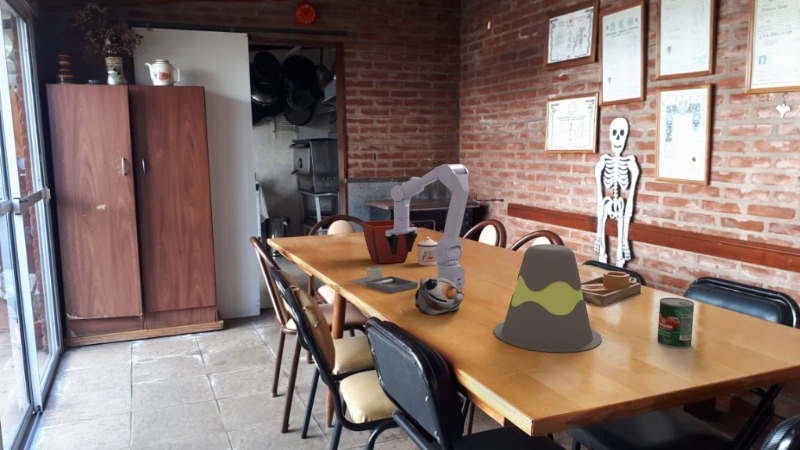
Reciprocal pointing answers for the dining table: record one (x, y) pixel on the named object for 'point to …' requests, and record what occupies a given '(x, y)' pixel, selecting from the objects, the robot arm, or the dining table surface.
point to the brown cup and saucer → (608, 283)
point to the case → (392, 284)
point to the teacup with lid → (426, 252)
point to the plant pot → (383, 242)
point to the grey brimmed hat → (548, 304)
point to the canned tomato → (675, 322)
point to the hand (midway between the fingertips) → (401, 252)
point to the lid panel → (359, 281)
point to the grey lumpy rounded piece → (437, 296)
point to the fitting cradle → (609, 297)
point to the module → (374, 273)
